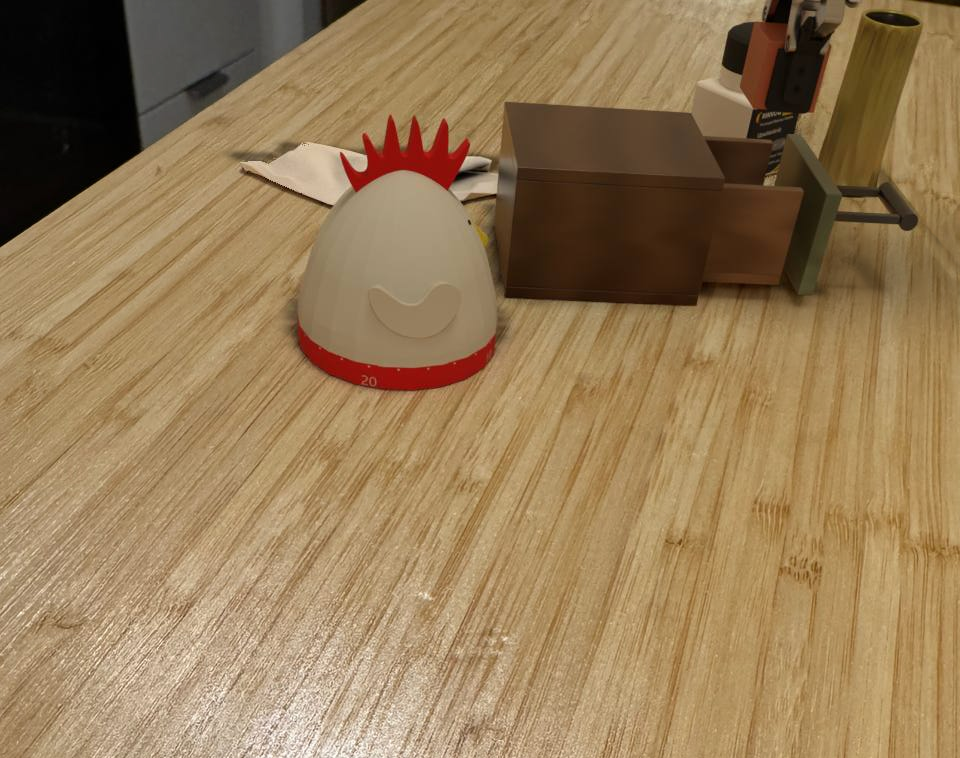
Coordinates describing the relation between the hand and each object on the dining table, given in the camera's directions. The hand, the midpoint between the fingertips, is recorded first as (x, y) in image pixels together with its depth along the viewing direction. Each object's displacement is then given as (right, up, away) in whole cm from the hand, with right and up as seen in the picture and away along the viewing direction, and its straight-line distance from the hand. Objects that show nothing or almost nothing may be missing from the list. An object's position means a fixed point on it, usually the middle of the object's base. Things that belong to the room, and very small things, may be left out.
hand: (777, 95), depth 83 cm
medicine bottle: (+2, +5, +26) cm, 26 cm away
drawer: (+1, -9, +9) cm, 13 cm away
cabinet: (-13, -10, +8) cm, 18 cm away
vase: (+13, +3, +24) cm, 28 cm away
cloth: (-30, 0, +16) cm, 34 cm away
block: (0, 0, 0) cm, 0 cm away
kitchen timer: (-27, -19, -2) cm, 33 cm away
